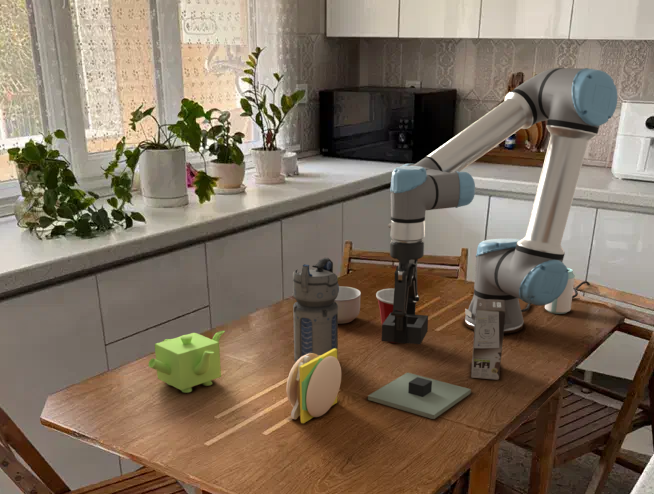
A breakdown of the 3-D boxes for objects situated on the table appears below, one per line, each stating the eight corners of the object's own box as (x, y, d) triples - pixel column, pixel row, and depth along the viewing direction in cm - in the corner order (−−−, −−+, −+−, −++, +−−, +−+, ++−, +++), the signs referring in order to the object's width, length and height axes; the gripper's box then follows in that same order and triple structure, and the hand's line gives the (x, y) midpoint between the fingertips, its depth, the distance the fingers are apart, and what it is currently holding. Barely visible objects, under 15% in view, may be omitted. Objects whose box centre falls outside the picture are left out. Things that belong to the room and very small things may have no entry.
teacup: (367, 318, 215) (368, 290, 212) (347, 329, 207) (347, 300, 204) (325, 309, 222) (325, 282, 219) (303, 320, 214) (303, 292, 210)
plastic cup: (396, 350, 192) (398, 303, 188) (366, 339, 200) (366, 293, 195) (426, 340, 199) (428, 294, 194) (395, 329, 206) (397, 285, 202)
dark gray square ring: (390, 328, 187) (390, 312, 185) (427, 331, 184) (428, 315, 183) (381, 341, 179) (381, 324, 177) (420, 344, 176) (421, 328, 175)
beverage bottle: (348, 357, 188) (349, 255, 178) (324, 377, 177) (324, 269, 167) (311, 351, 192) (310, 250, 182) (285, 369, 181) (282, 264, 171)
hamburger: (313, 395, 167) (313, 343, 162) (346, 405, 163) (346, 351, 158) (279, 416, 158) (277, 360, 153) (312, 426, 154) (312, 369, 149)
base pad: (407, 376, 177) (407, 362, 176) (470, 393, 168) (472, 378, 167) (367, 399, 165) (367, 384, 164) (433, 419, 157) (434, 403, 155)
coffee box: (499, 380, 175) (506, 311, 168) (470, 378, 176) (475, 309, 170) (499, 365, 183) (505, 299, 177) (471, 363, 184) (477, 297, 178)
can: (550, 305, 225) (554, 264, 220) (573, 309, 221) (579, 268, 217) (540, 311, 220) (545, 270, 215) (564, 316, 216) (570, 274, 211)
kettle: (227, 370, 180) (224, 324, 176) (221, 396, 167) (218, 347, 163) (162, 371, 180) (157, 325, 175) (150, 397, 167) (145, 347, 162)
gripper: (400, 227, 183) (398, 319, 192) (379, 250, 164) (378, 350, 173) (432, 229, 181) (429, 321, 190) (414, 252, 162) (411, 353, 171)
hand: (404, 335), depth 182 cm, fingers closed on dark gray square ring, 9 cm apart
